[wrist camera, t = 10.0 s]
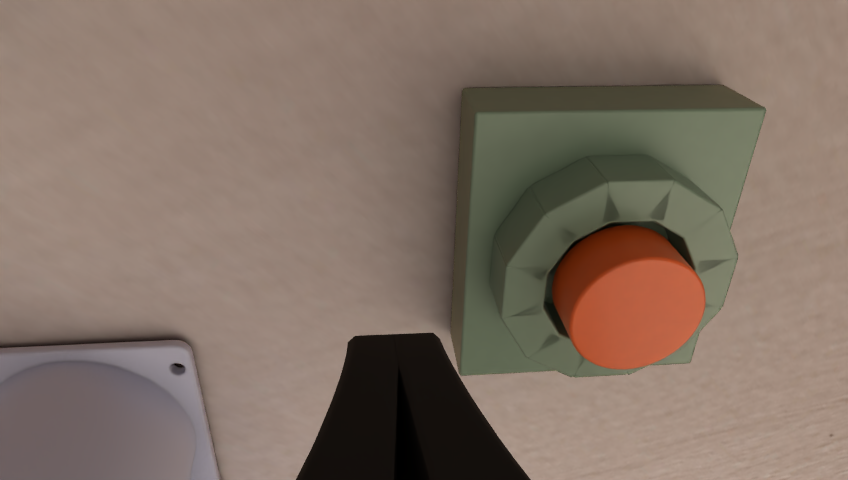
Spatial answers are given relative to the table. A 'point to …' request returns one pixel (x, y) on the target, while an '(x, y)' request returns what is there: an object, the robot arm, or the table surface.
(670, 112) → the block
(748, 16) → the table surface
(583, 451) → the table surface
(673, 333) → the button
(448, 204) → the table surface
